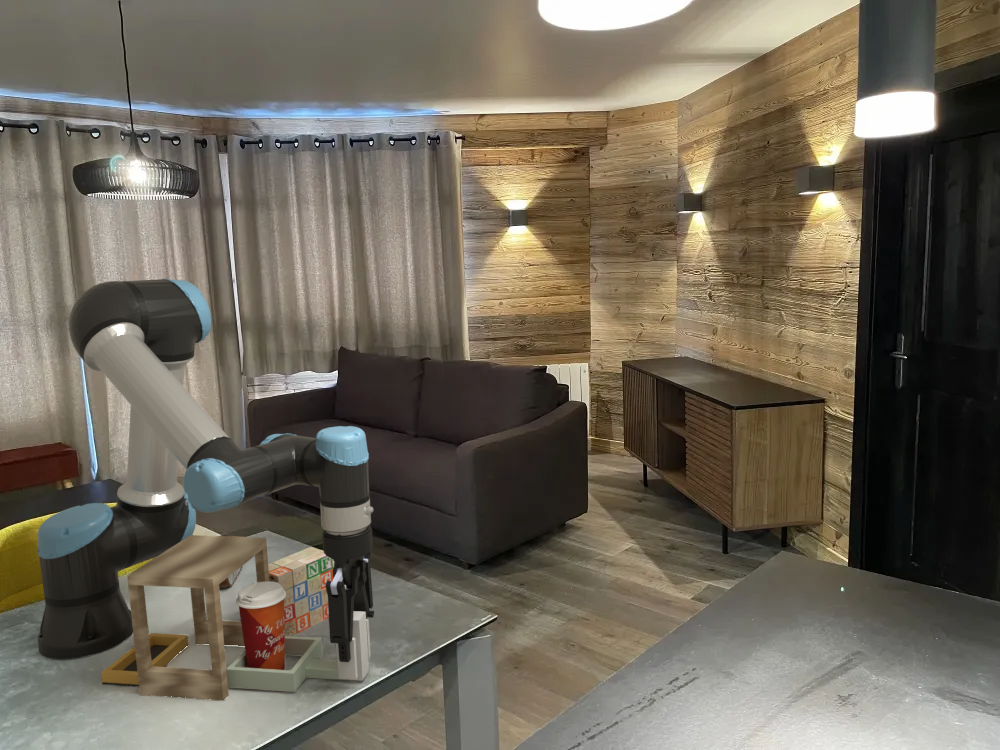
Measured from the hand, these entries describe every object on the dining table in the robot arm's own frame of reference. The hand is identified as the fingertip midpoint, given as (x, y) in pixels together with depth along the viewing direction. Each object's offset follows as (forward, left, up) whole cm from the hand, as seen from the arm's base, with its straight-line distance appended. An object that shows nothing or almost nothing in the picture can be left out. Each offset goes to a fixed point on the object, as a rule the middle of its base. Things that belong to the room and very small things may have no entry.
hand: (355, 667), depth 118 cm
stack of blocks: (-15, +21, -2) cm, 26 cm away
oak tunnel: (-25, 0, -2) cm, 25 cm away
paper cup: (-15, 0, -2) cm, 15 cm away
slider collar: (-9, 0, -1) cm, 9 cm away
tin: (-40, +34, -2) cm, 53 cm away
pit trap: (-36, 0, -2) cm, 37 cm away
